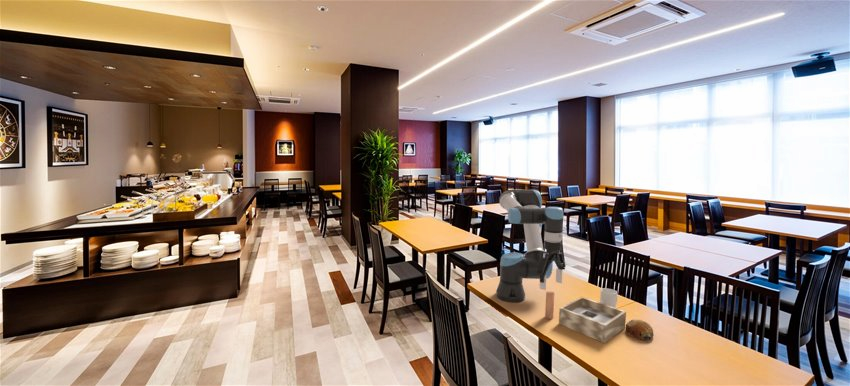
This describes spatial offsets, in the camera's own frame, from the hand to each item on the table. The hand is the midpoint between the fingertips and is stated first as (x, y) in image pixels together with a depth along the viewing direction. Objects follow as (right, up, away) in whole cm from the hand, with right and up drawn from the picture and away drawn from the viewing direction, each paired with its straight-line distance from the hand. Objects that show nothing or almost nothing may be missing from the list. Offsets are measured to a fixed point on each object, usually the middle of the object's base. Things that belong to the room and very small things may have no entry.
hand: (550, 285), depth 155 cm
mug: (+30, -16, +5) cm, 34 cm away
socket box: (+16, -16, -6) cm, 24 cm away
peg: (0, -16, +2) cm, 16 cm away
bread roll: (+33, -18, -13) cm, 40 cm away
